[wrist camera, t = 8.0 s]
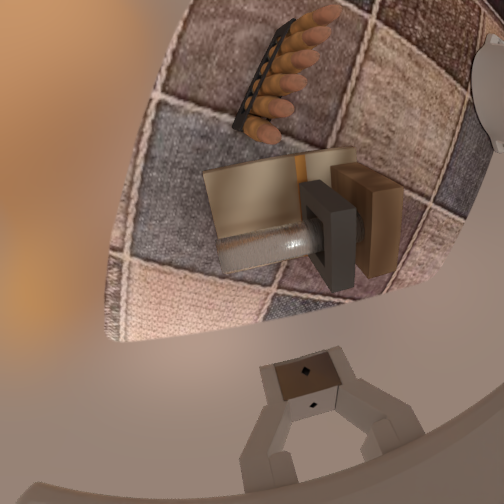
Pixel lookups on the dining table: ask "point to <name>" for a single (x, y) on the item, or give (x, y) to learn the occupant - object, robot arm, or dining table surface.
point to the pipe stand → (289, 204)
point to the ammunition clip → (283, 73)
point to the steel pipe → (275, 244)
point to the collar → (332, 233)
